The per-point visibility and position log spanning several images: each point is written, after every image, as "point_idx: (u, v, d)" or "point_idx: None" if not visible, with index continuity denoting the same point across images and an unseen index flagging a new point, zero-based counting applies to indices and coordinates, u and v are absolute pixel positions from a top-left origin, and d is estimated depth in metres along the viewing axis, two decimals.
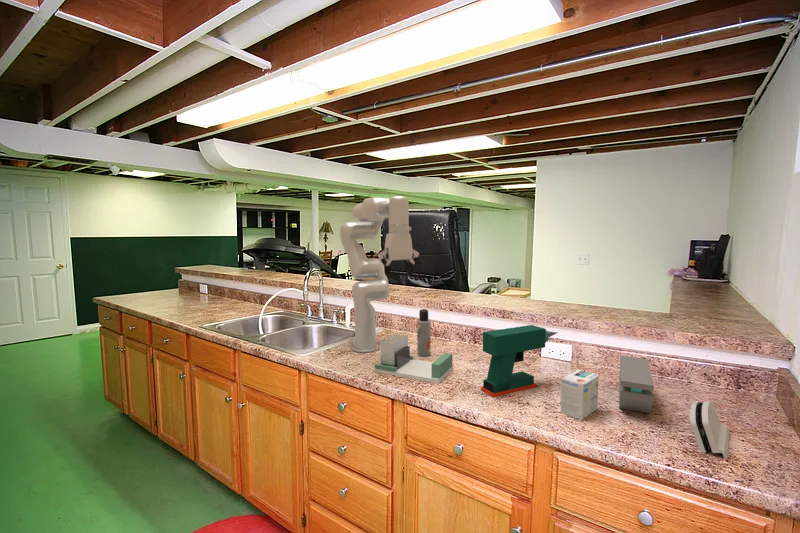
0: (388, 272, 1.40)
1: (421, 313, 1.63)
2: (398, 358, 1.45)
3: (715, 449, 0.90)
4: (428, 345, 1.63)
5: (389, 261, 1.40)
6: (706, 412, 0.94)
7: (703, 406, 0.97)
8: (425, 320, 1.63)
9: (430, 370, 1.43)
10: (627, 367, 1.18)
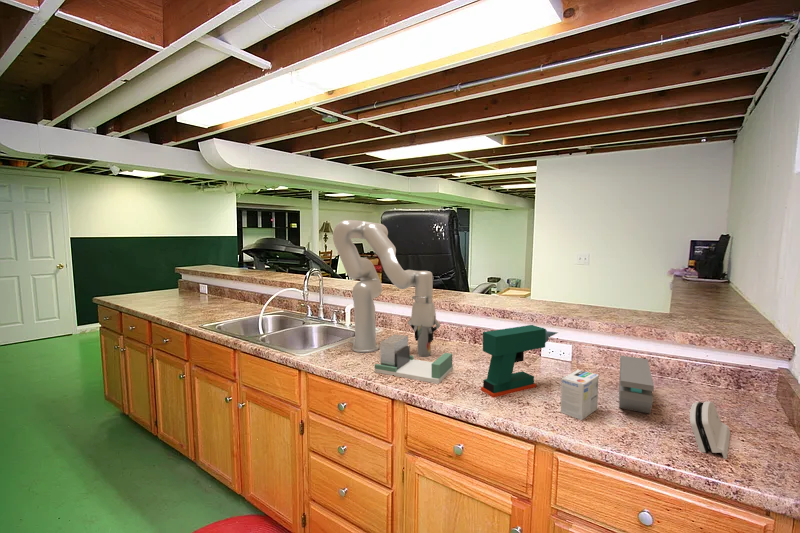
0: None
1: None
2: (398, 358, 1.45)
3: (715, 449, 0.90)
4: (428, 345, 1.63)
5: None
6: (706, 412, 0.94)
7: (703, 406, 0.97)
8: None
9: (430, 370, 1.43)
10: (627, 367, 1.18)
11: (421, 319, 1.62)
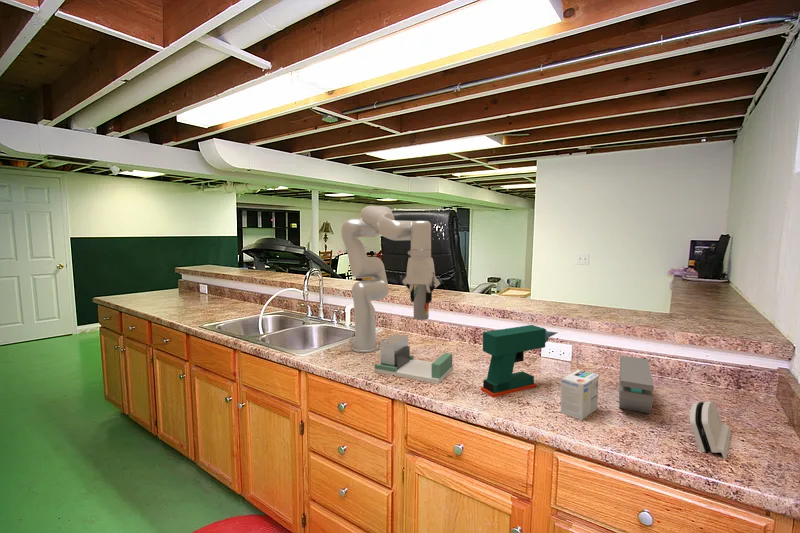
0: None
1: None
2: (398, 358, 1.45)
3: (714, 449, 0.90)
4: (426, 306, 1.42)
5: None
6: (706, 412, 0.94)
7: (704, 406, 0.97)
8: None
9: (430, 370, 1.43)
10: (627, 367, 1.18)
11: (418, 276, 1.40)
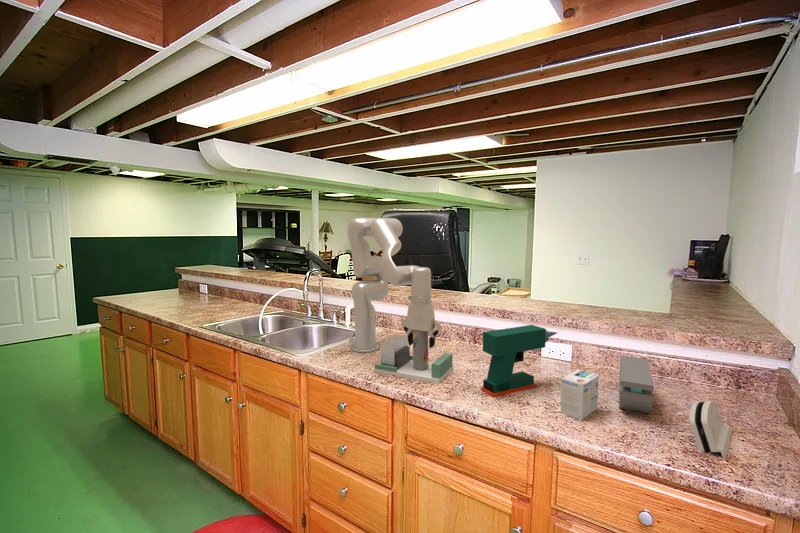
0: None
1: None
2: (398, 358, 1.45)
3: (714, 448, 0.90)
4: (425, 357, 1.43)
5: None
6: (706, 411, 0.94)
7: (704, 406, 0.97)
8: None
9: (430, 370, 1.43)
10: (627, 367, 1.18)
11: (418, 322, 1.42)
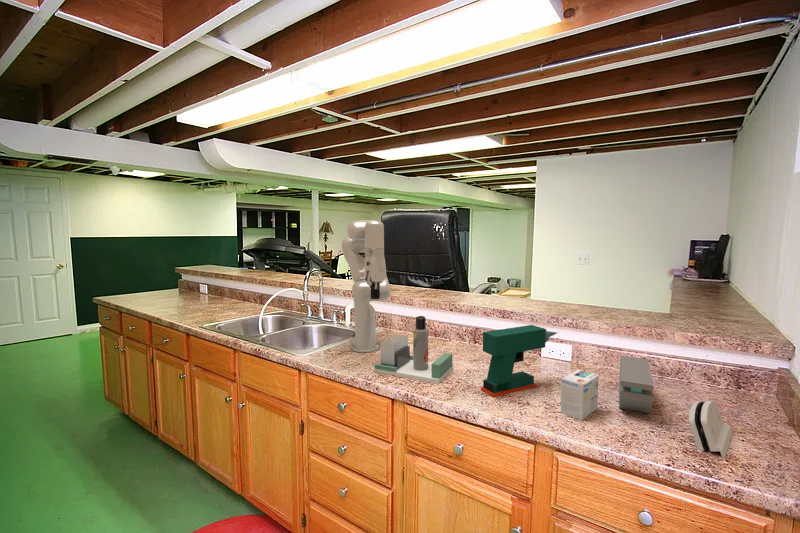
0: None
1: (417, 320, 1.43)
2: (398, 358, 1.45)
3: (713, 447, 0.91)
4: (425, 357, 1.43)
5: None
6: (706, 411, 0.95)
7: (704, 405, 0.97)
8: (422, 328, 1.43)
9: (430, 370, 1.43)
10: (627, 367, 1.18)
11: (381, 273, 1.50)
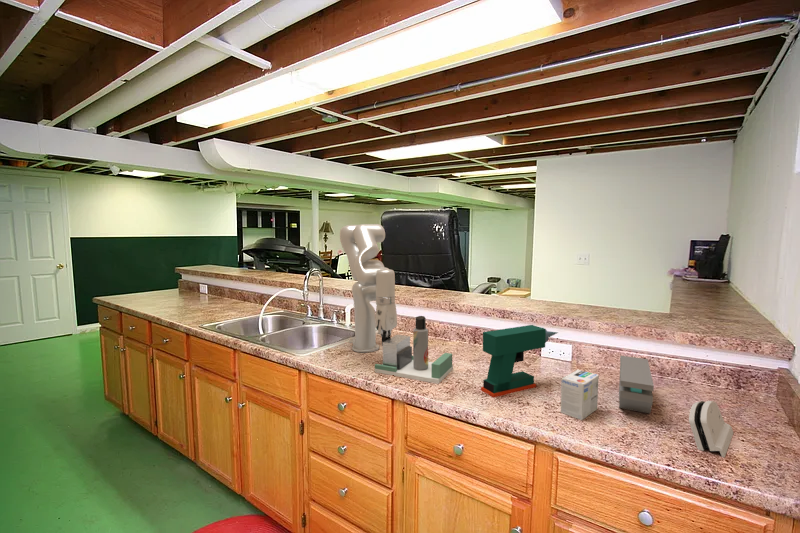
0: None
1: (417, 320, 1.43)
2: (400, 358, 1.44)
3: (713, 447, 0.91)
4: (425, 357, 1.43)
5: None
6: (706, 411, 0.95)
7: (704, 405, 0.97)
8: (422, 328, 1.43)
9: (430, 370, 1.43)
10: (627, 367, 1.18)
11: (392, 321, 1.50)
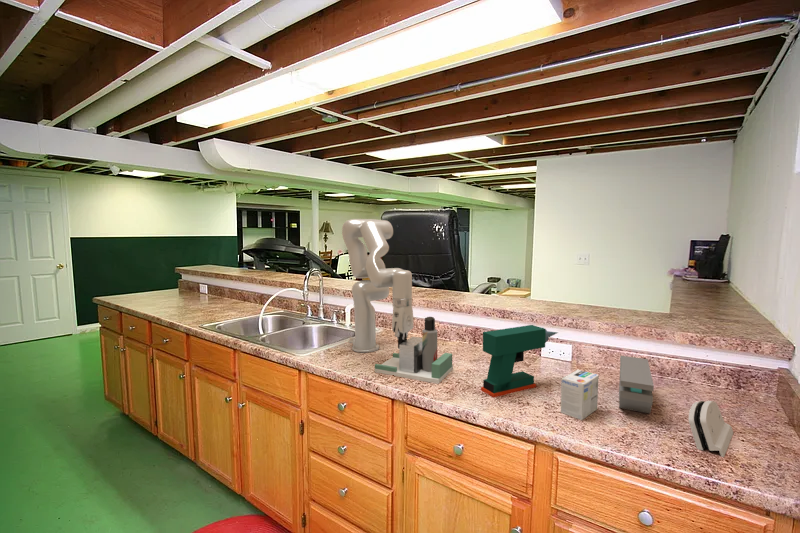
0: None
1: (427, 321, 1.41)
2: (418, 361, 1.41)
3: (712, 447, 0.91)
4: (435, 358, 1.42)
5: None
6: (705, 410, 0.95)
7: (704, 405, 0.97)
8: (431, 329, 1.41)
9: None
10: (627, 367, 1.18)
11: (408, 323, 1.47)
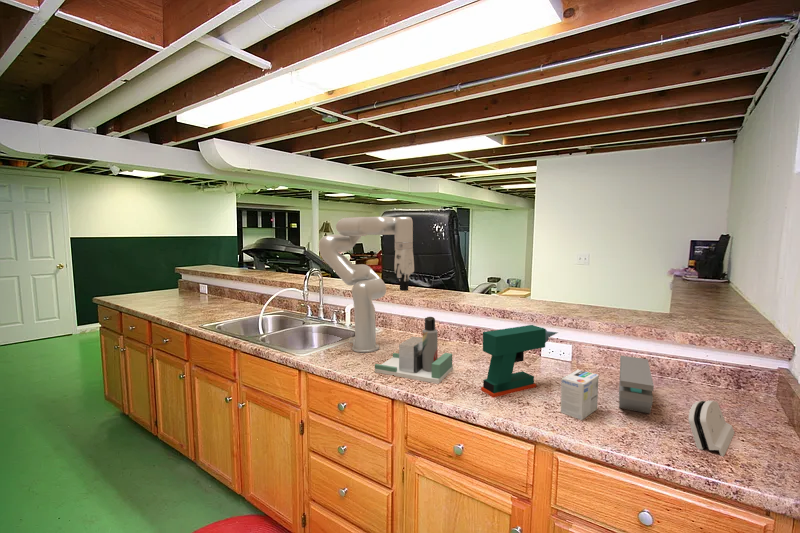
0: None
1: (427, 321, 1.41)
2: (417, 361, 1.41)
3: (712, 446, 0.91)
4: (435, 358, 1.42)
5: None
6: (705, 410, 0.95)
7: (704, 404, 0.98)
8: (432, 329, 1.41)
9: None
10: (627, 367, 1.18)
11: (409, 266, 1.58)
